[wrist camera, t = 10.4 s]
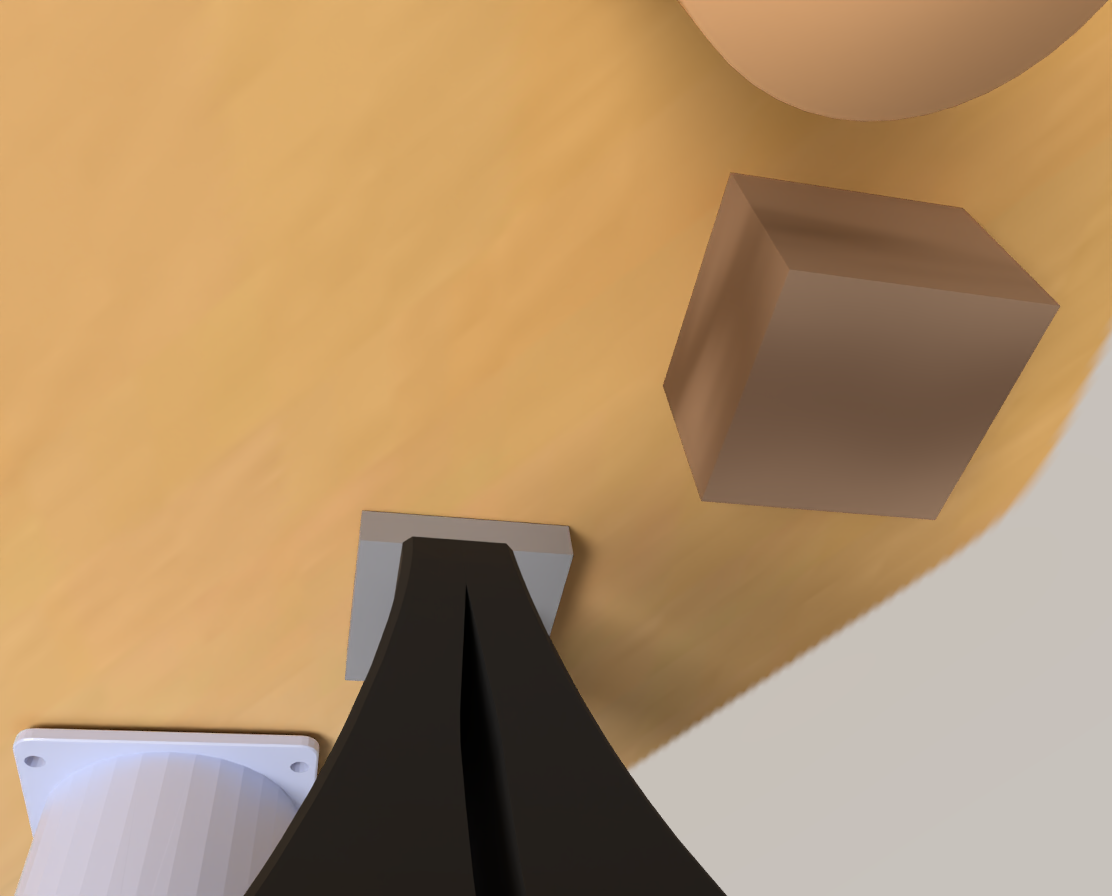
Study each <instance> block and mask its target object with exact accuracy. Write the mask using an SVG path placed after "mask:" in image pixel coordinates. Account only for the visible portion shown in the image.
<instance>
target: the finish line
mask: <svg viewBox="0 0 1112 896" xmlns="http://www.w3.org/2000/svg"><path fill="white" fill-rule="evenodd" d="M677 1H678V2H679V3H680V4H681V6H682V7H683V8H684V9H685V11H686V12H687V13H688V15H689V16H690V17H691V18H692V20H693V21H694V22H695V24H696V25H697V26H698V27H699V29H700V30H701V31H702V33H703V34H704V35H705V36H706V38H707V39H708V40H709V41H710V43H711V44H712V45H713V46H714V47H715V48H716V50H717V51H718V52H719V53H720V54H721V55H722V57H723V58H724V59H725V60H726V61H727V62H728V63H729V65H731V66H732V67H733V68H734V69H735V70H736V71H738V72H739V73H740V74H741V75H742V76H743V77H745V78H746V79H747V80H748V81H749V82H751V83H752V84H753V85H755V86H756V87H758V88H759V89H761V90H763V91H764V92H766V93H768V94H769V95H771V96H772V97H774V98H776V99H777V100H779V101H782V102H784V103H787V104H789V105H791V106H794V107H796V108H798V109H801V110H803V111H806V112H810V113H814V114H818V115H822V116H826V117H830V118H834V119H844V120H854V121H889V120H899V119H905V118H911V117H917V116H923V115H927V114H930V113H934V112H937V111H941V110H944V109H947V108H951V107H954V106H957V105H960V104H962V103H964V102H967V101H969V100H972V99H974V98H976V97H979V96H981V95H983V94H986V93H988V92H990V91H992V90H993V89H995V88H997V87H999V86H1001V85H1003V84H1004V83H1006V82H1008V81H1010V80H1012V79H1013V78H1015V77H1017V76H1019V75H1020V74H1022V73H1023V72H1025V71H1026V70H1028V69H1029V68H1030V67H1032V66H1033V65H1035V64H1036V63H1038V62H1039V61H1041V60H1042V59H1044V58H1045V57H1046V56H1048V55H1049V54H1051V53H1052V52H1053V51H1054V50H1055V49H1057V48H1058V47H1059V46H1060V45H1061V44H1062V43H1064V42H1065V41H1066V40H1067V39H1068V38H1070V37H1071V36H1072V35H1073V34H1074V33H1076V32H1077V31H1078V30H1079V29H1080V28H1081V27H1082V26H1083V25H1084V24H1085V23H1086V22H1087V21H1088V20H1089V19H1090V18H1091V17H1092V16H1093V15H1094V14H1095V13H1096V12H1097V11H1098V10H1099V9H1100V8H1101V7H1102V6H1103V5H1104V4H1105V3H1106V2H1107V1H1108V0H677ZM412 536H415V537H429V538H442V539H455V540H469V541H482V542H495V543H507V545H508V546H509V547H510V548H511V549H512V550H513V552H514V555H515V558H516V561H517V564H518V566H519V569H520V571H521V574H522V576H523V579H524V581H525V584H526V586H527V589H528V591H529V593H530V596H531V598H532V600H533V603H534V605H535V607H536V609H537V611H538V613H539V616H540V618H541V620H542V622H543V624H544V626H545V629H546V631H547V633H548V635H549V637H550V633H551V630H552V627H553V623H554V620H555V616H556V613H557V609H558V606H559V603H560V599H561V596H562V592H563V589H564V585H565V582H566V579H567V575H568V572H569V568H570V565H571V562H572V558H573V549H572V544H571V538H570V532H569V526H559V525H546V524H532V523H519V522H506V521H492V520H479V519H466V518H452V517H439V516H426V515H412V514H399V513H386V512H372V511H362V517H361V526H360V536H359V545H358V554H357V564H356V573H355V583H354V592H353V601H352V611H351V620H350V630H349V639H348V648H347V661H346V674H345V680H355V681H365V678H366V676H367V674H368V672H369V669H370V667H371V664H372V662H373V659H374V656H375V654H376V651H377V648H378V645H379V643H380V640H381V637H382V634H383V632H384V629H385V626H386V623H387V621H388V618H389V614H390V611H391V607H392V604H393V601H394V595H395V589H396V582H397V576H398V569H399V563H400V556H401V550H402V543H403V542H404V541H406V540H407V539H409V538H411V537H412Z"/></svg>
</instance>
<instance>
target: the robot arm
mask: <svg viewBox="0 0 1112 896" xmlns="http://www.w3.org/2000/svg"><path fill="white" fill-rule="evenodd" d="M13 752H14V756H15V760H16V765H17V769H18V774H19V778H20V782H21V787H22V791H23V795H24V800H25V804H26V809H27V813H28V817H29V822H30V826H31V830H32V835H33V841H32V844H31V847H30V850H29V853H28V856H27V859H26V862H25V865H24V868H23V871H22V874H21V877H20V880H19V883H18V886H17V889H16V892H15V895H14V896H727V895H726V894H725V893H724V892H723V891H722V890H721V888H720V887H719V886H718V885H717V884H716V883H715V881H714V880H713V879H712V878H711V877H710V876H709V875H708V873H707V872H706V871H705V870H704V869H703V867H702V866H701V865H700V864H699V863H698V862H697V860H696V859H695V858H694V857H693V856H692V855H691V853H690V852H689V851H688V850H687V849H686V848H685V846H684V845H683V844H682V843H681V842H680V840H679V839H678V838H677V837H676V836H675V834H674V833H673V832H672V830H671V829H670V828H669V826H668V825H667V824H666V822H665V821H664V820H663V819H662V817H661V816H660V815H659V813H658V812H657V811H656V809H655V808H654V807H653V806H652V804H651V803H650V801H649V800H648V799H647V797H646V796H645V795H644V793H643V792H642V790H641V789H640V788H639V786H638V785H637V784H636V782H635V780H634V779H633V778H632V776H631V775H630V773H629V772H628V771H627V769H626V768H625V766H624V765H623V763H622V762H621V760H620V759H619V757H618V756H617V754H616V753H615V751H614V750H613V748H612V746H611V745H610V743H609V742H608V740H607V739H606V737H605V735H604V734H603V732H602V731H601V729H600V727H599V726H598V724H597V722H596V721H595V719H594V717H593V716H592V714H591V712H590V711H589V709H588V707H587V706H586V704H585V702H584V700H583V699H582V697H581V695H580V693H579V692H578V690H577V688H576V686H575V685H574V683H573V681H572V679H571V677H570V675H569V673H568V671H567V670H566V668H565V666H564V664H563V662H562V660H561V658H560V656H559V654H558V652H557V651H556V649H555V647H554V645H553V643H552V641H551V639H550V637H549V635H548V633H547V631H546V629H545V626H544V624H543V622H542V620H541V618H540V616H539V613H538V611H537V609H536V607H535V605H534V603H533V600H532V598H531V596H530V593H529V591H528V589H527V586H526V584H525V581H524V579H523V576H522V574H521V571H520V569H519V566H518V564H517V561H516V558H515V555H514V552H513V550H512V549H511V548H510V547H509V546H508V545H507V543H495V542H482V541H469V540H455V539H442V538H429V537H415V536H412V537H411V538H409V539H407V540H406V541H404V542H403V543H402V550H401V556H400V563H399V569H398V576H397V582H396V589H395V595H394V601H393V604H392V607H391V611H390V614H389V618H388V621H387V623H386V626H385V629H384V632H383V634H382V637H381V640H380V643H379V645H378V648H377V651H376V654H375V656H374V659H373V662H372V664H371V667H370V669H369V672H368V674H367V676H366V678H365V681H364V683H363V685H362V687H361V690H360V692H359V694H358V696H357V698H356V701H355V703H354V705H353V707H352V710H351V712H350V714H349V716H348V718H347V721H346V723H345V725H344V727H343V729H342V731H341V733H340V735H339V737H338V739H337V741H336V743H335V745H334V747H333V749H332V751H331V752H330V754H329V756H328V758H327V760H326V762H325V764H324V766H323V767H322V769H321V771H320V773H319V775H318V777H317V769H318V757H319V743H318V742H317V741H316V740H315V739H314V738H311V737H309V736H303V735H268V734H232V733H196V732H160V731H123V730H87V729H51V728H30V729H26V730H23V731H21V732H20V733H19V734H17V736H16V739H15V742H14V744H13Z"/></svg>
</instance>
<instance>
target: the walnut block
mask: <svg viewBox="0 0 1112 896" xmlns="http://www.w3.org/2000/svg"><path fill="white" fill-rule="evenodd" d="M1059 307H1060V305H1059V304H1058V303H1057V302H1056V301H1055V300H1054V299H1053V298H1052V297H1051V296H1050V295H1049V294H1048V293H1047V292H1046V291H1045V290H1044V289H1043V288H1042V287H1041V286H1040V285H1039V284H1038V283H1037V282H1036V281H1035V280H1034V279H1033V278H1032V277H1031V276H1030V275H1029V274H1028V273H1027V272H1026V271H1025V270H1024V269H1023V268H1022V267H1021V266H1020V265H1019V264H1018V263H1017V262H1016V261H1015V260H1014V259H1013V258H1012V257H1011V256H1010V255H1009V254H1008V253H1007V252H1006V251H1005V250H1004V249H1003V248H1002V247H1001V246H1000V245H999V244H998V243H997V242H996V241H995V240H994V239H993V238H992V237H991V236H990V235H989V234H988V233H987V232H986V231H985V230H984V229H983V228H982V227H981V226H980V225H979V224H978V223H977V222H976V221H975V220H974V219H973V218H972V217H971V216H970V215H969V214H968V213H967V212H966V211H965V210H964V209H963V208H959V207H952V206H946V205H939V204H933V203H926V202H920V201H913V200H907V199H900V198H894V197H887V196H881V195H874V194H868V193H861V192H855V191H848V190H842V189H835V188H829V187H822V186H816V185H809V184H803V183H796V182H790V181H783V180H777V179H770V178H764V177H757V176H751V175H744V174H738V173H730V176H729V179H728V182H727V185H726V189H725V192H724V195H723V198H722V201H721V204H720V208H719V211H718V214H717V217H716V220H715V223H714V226H713V230H712V233H711V236H710V239H709V242H708V245H707V248H706V252H705V255H704V258H703V261H702V264H701V267H700V270H699V274H698V277H697V280H696V283H695V286H694V289H693V293H692V296H691V299H690V302H689V305H688V308H687V311H686V315H685V318H684V321H683V324H682V327H681V330H680V333H679V337H678V340H677V343H676V346H675V349H674V352H673V356H672V359H671V362H670V365H669V368H668V371H667V374H666V378H665V381H664V384H663V387H664V390H665V393H666V396H667V399H668V402H669V405H670V408H671V411H672V414H673V417H674V420H675V423H676V426H677V429H678V432H679V435H680V438H681V441H682V445H683V448H684V451H685V454H686V457H687V460H688V463H689V466H690V469H691V472H692V475H693V478H694V481H695V484H696V487H697V490H698V493H699V496H700V499H701V501H706V502H719V503H731V504H744V505H756V506H768V507H781V508H793V509H805V510H818V511H830V512H843V513H855V514H867V515H880V516H892V517H904V518H917V519H929V520H935V519H936V518H937V516H938V514H939V513H940V511H941V509H942V507H943V506H944V504H945V502H946V501H947V499H948V497H949V495H950V494H951V492H952V490H953V489H954V487H955V485H956V484H957V482H958V480H959V478H960V477H961V475H962V473H963V472H964V470H965V468H966V466H967V465H968V463H969V461H970V460H971V458H972V456H973V454H974V453H975V451H976V449H977V448H978V446H979V444H980V442H981V441H982V439H983V437H984V436H985V434H986V432H987V430H988V429H989V427H990V425H991V424H992V422H993V420H994V418H995V417H996V415H997V413H998V412H999V410H1000V408H1001V406H1002V405H1003V403H1004V401H1005V400H1006V398H1007V396H1008V394H1009V393H1010V391H1011V389H1012V388H1013V386H1014V384H1015V383H1016V381H1017V379H1018V377H1019V376H1020V374H1021V372H1022V371H1023V369H1024V367H1025V365H1026V364H1027V362H1028V360H1029V359H1030V357H1031V355H1032V353H1033V352H1034V350H1035V348H1036V347H1037V345H1038V343H1039V341H1040V340H1041V338H1042V336H1043V335H1044V333H1045V331H1046V329H1047V328H1048V326H1049V324H1050V323H1051V321H1052V319H1053V317H1054V316H1055V314H1056V312H1057V311H1058V309H1059Z"/></svg>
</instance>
